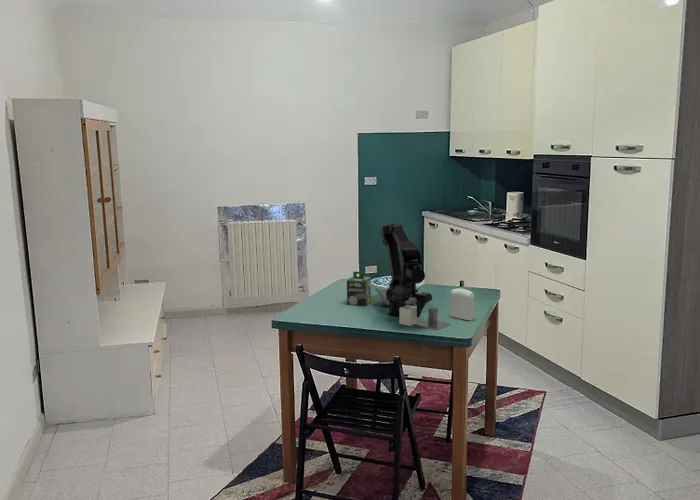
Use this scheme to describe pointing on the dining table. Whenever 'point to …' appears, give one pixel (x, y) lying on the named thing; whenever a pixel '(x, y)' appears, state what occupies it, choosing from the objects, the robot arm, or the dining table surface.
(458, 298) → the photo printer
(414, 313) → the cream rectangular block
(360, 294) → the chalk box
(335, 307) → the dining table surface
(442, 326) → the post
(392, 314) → the robot arm
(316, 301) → the dining table surface
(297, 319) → the dining table surface
